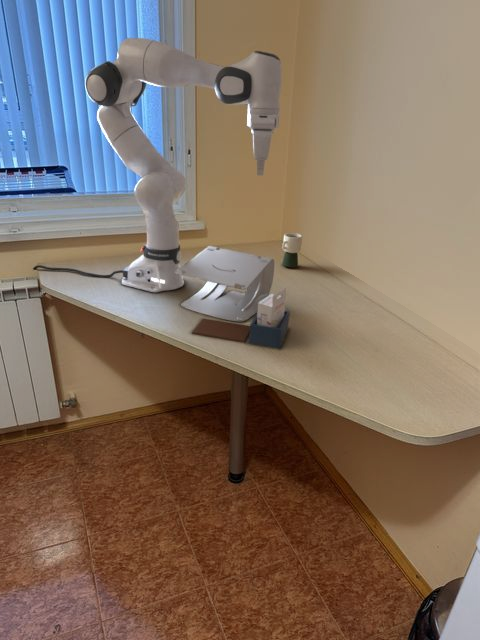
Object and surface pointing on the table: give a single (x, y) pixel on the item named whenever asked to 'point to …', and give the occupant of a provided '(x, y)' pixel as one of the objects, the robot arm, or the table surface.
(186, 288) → the table surface
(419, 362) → the table surface
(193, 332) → the cork mat
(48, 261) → the table surface
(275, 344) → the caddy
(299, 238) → the character mug
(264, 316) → the ink cartridge box
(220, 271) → the laptop stand
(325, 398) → the table surface
